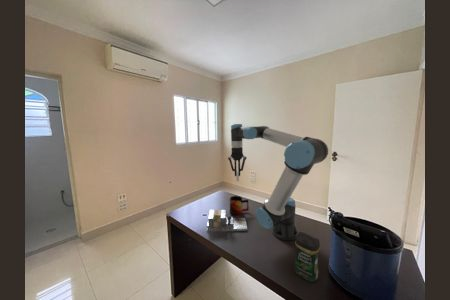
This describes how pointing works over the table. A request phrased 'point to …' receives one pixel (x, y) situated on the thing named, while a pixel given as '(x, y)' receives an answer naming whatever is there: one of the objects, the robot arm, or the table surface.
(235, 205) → the mug
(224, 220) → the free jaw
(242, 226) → the vise bed
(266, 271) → the table surface
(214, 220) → the block
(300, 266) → the coffee jar
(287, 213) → the robot arm
